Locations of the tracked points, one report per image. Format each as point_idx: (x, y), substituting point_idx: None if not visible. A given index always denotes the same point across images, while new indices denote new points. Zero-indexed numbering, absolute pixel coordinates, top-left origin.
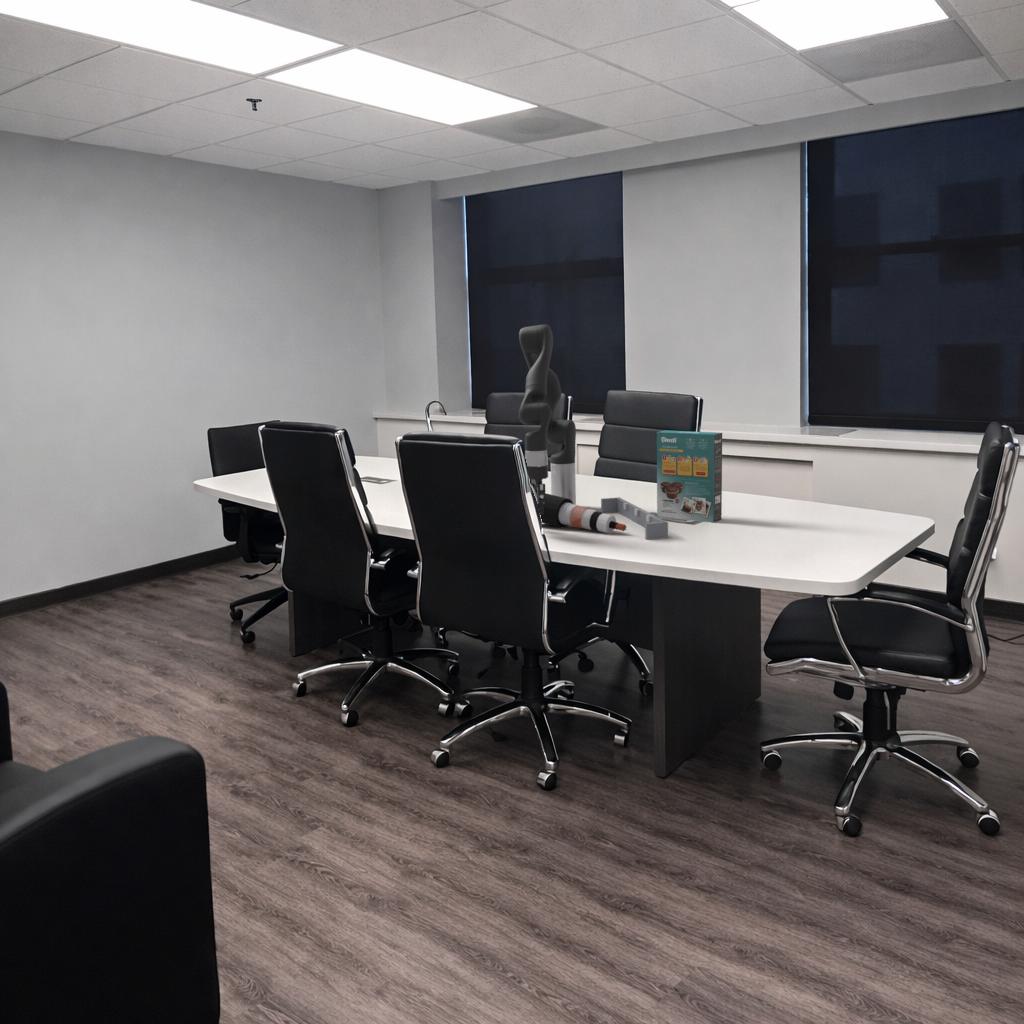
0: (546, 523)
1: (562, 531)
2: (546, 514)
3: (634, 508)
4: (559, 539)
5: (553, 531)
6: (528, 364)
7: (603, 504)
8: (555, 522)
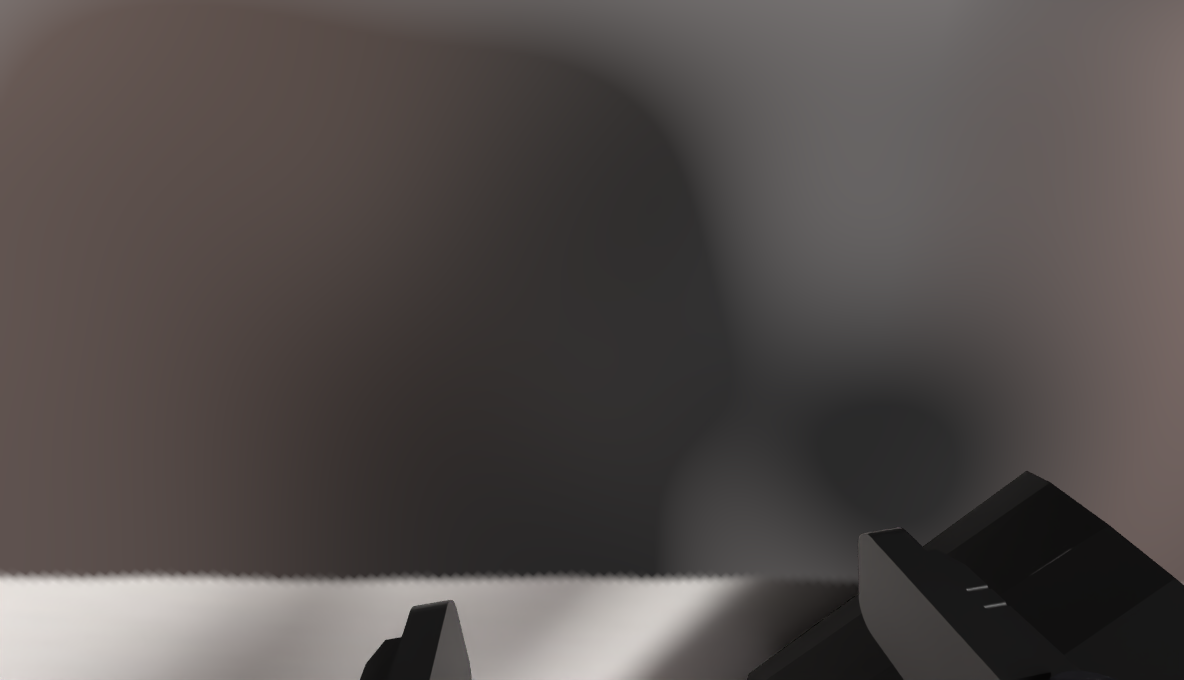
0: None
1: (613, 667)
2: (872, 657)
3: None
4: (237, 626)
5: (633, 593)
6: None
7: None
8: (763, 671)
